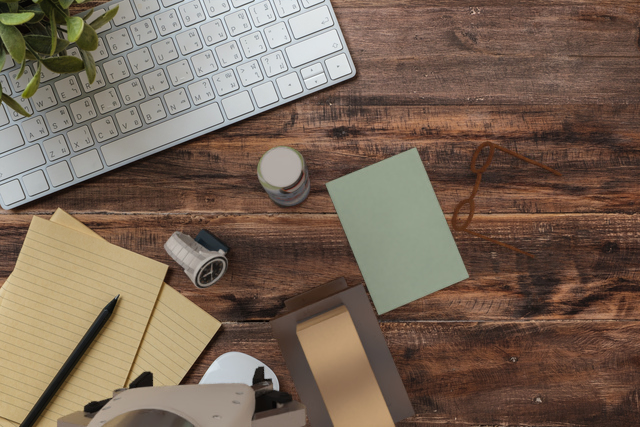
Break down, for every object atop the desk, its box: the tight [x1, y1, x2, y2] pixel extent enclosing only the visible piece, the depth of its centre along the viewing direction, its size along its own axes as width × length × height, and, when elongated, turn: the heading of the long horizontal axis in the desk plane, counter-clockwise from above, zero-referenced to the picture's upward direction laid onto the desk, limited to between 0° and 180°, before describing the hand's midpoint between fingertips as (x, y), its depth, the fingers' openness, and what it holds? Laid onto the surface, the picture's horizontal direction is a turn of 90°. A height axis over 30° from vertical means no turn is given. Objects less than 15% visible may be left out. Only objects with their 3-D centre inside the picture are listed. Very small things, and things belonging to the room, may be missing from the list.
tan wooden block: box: [296, 303, 396, 427], centre depth 45 cm, size 12×5×5 cm, turn 22°
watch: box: [163, 228, 232, 290], centre depth 61 cm, size 6×8×11 cm
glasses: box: [451, 140, 563, 259], centre depth 66 cm, size 13×13×5 cm
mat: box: [324, 146, 470, 316], centre depth 68 cm, size 20×14×1 cm
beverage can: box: [256, 145, 312, 210], centre depth 62 cm, size 6×7×12 cm
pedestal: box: [268, 275, 416, 427], centre depth 57 cm, size 14×10×20 cm
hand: (205, 386), depth 42 cm, fingers open, 9 cm apart
